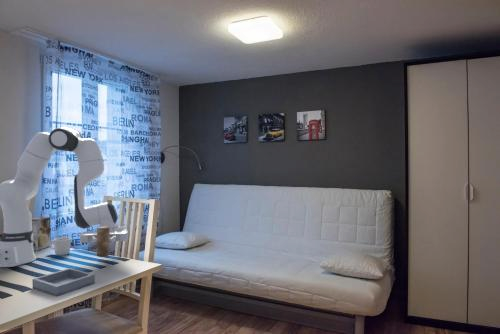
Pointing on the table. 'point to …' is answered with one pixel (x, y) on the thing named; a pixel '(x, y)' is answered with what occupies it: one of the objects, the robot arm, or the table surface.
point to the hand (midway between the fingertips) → (103, 240)
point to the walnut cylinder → (103, 241)
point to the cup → (61, 245)
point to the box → (63, 281)
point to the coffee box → (41, 232)
